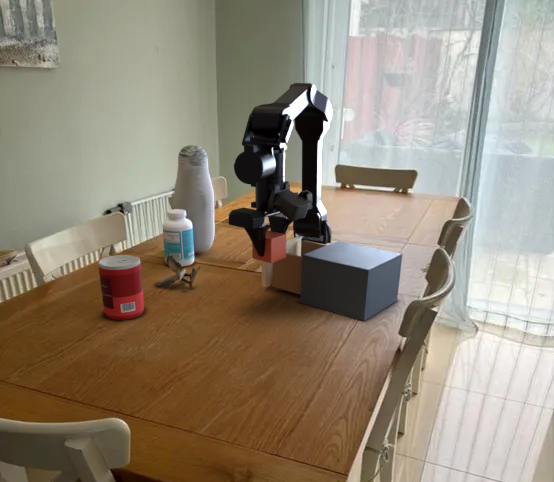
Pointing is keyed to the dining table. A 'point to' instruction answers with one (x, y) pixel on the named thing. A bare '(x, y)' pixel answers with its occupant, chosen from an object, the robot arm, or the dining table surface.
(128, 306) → the canned food
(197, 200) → the white tall rounded cylinder
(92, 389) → the dining table surface
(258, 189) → the robot arm
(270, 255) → the block
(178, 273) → the eagle figurine
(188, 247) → the pill bottle
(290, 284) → the drawer
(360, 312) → the dark grey rectangular block
